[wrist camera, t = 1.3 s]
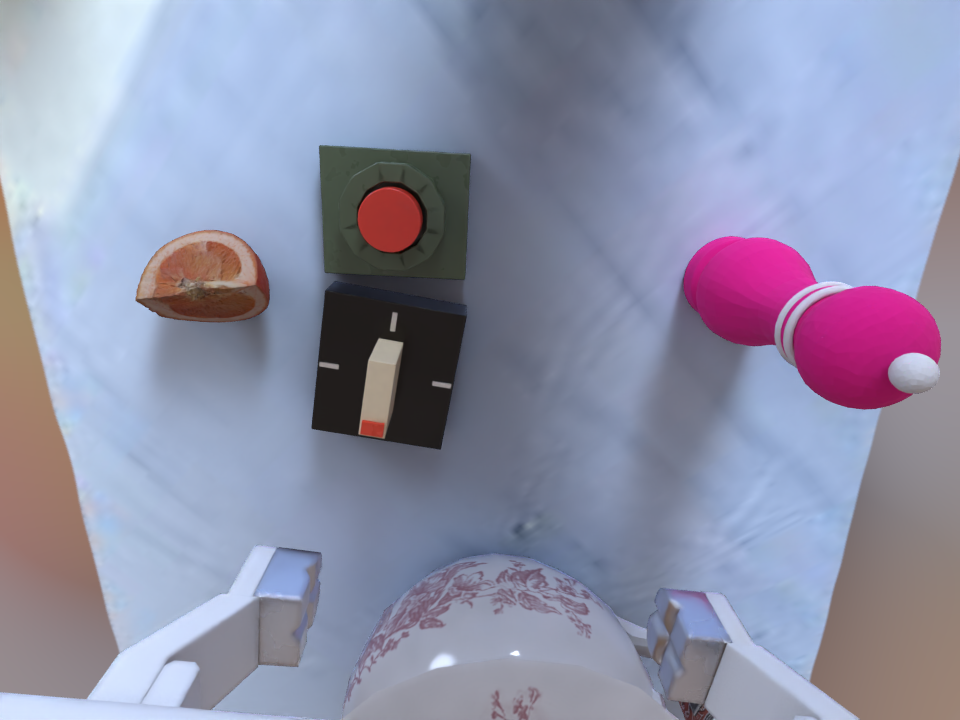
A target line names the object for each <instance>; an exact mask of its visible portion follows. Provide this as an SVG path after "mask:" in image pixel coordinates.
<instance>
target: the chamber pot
mask: <svg viewBox="0 0 960 720" xmlns="http://www.w3.org/2000/svg"><path fill="white" fill-rule="evenodd" d="M640 656H642V657H647V658H651V659H652V657H651V655H650V652H649V649H648V644H647V629H644V628H642V627H640V626H637V625H635V624H633V623H631V622H628V621H626V620H624V619H622V618H620V617H618V616H617V615H615V614H614V612H613V611H612V609H611V607H610V606H609V605H607V604H606V603H605V602H604V601H603V600H601V599H600V598H599V597H598V596H597V595H595V594H594V593H593V592H592V591H591V590H589V589H588V588H587V587H586V586H585V585H583V584H582V583H581V582H579V581H578V580H576V579H574V578H573V577H571V576H569V575H568V574H566V573H564V572H563V571H561V570H559V569H557V568H555V567H552V566H550V565H548V564H545V563H543V562H540V561H538V560H535V559H533V558H530V557H525V556H517V555H508V554H499V553H493V554H486V555H479V556H472V557H465V558H461V559H459V560H457V561H454V562H452V563H450V564H447V565H445V566H443V567H440V568H438V569H436V570H433V571H432V572H431V573H430V574H428V575H427V576H426V577H424V578H423V579H422V580H421V581H419V582H418V583H417V584H416V585H414V586H413V587H412V588H411V589H409V590H408V591H407V592H406V593H405V594H404V595H402V596H401V597H400V598H399V599H398V600H396V601H395V602H394V603H393V604H392V605H390V606H389V607H388V608H387V609H386V610H384V612H383V614H382V616H381V617H380V619H379V621H378V623H377V624H376V626H375V628H374V629H373V631H372V633H371V635H370V636H369V638H368V640H367V642H366V644H365V646H364V648H363V650H362V653H361V655H360V657H359V659H358V661H357V663H356V665H355V667H354V670H353V672H352V674H351V676H350V679H349V683H348V687H347V692H346V696H345V700H344V705H343V710H342V719H341V720H679V719H678V718H677V717H675V716H674V715H673V714H672V713H670V712H669V711H668V710H667V709H666V705H665V702H664V698H663V695H662V694H660V693H659V692H658V691H656V690H655V689H654V687H653V684H652V681H651V679H650V676H649V673H648V671H647V669H646V667H645V665H644V664H643V662H642V660H641V658H640ZM713 720H716V719H715V718H714V719H713Z"/></svg>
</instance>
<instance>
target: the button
mask: <svg viewBox="0 0 960 720" xmlns="http://www.w3.org/2000/svg"><path fill="white" fill-rule="evenodd" d="M422 223H423V215H422V210H421V207H420V205H419V203H418V202H417V200H416V199H415V197H414V196H413V195H412V194H410V193H409V192H408V191H406V190H404V189H402V188H398V187H383V188H380V189H378V190H376V191H374V192H372V193H370V194H369V195H368V196H367V197H366V198H365V199H364V200H363V202H362V203H361V205H360V208H359V211H358V226H359V229H360V232H361V234H362V236H363V237H364V239H365V240H366V241H367V242H368V243H369V244H370V245H371V246H372V247H374V248H376V249H377V250H380V251H383V252H399V251H402V250H404V249H406V248H408V247H409V246H410V245H411V244H412V243H413V242H414V241H415V240H416V238H417V236H418V235H419V233H420V231H421V228H422Z"/></svg>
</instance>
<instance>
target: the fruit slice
mask: <svg viewBox="0 0 960 720" xmlns="http://www.w3.org/2000/svg"><path fill="white" fill-rule="evenodd" d="M136 301H137V302H138V303H140V304H142V305H144V306H145V307H147V308H149V310H150V311H152V312H156V313H157V314H158V315H159V316H161V317H165V318H172V319H177V320H187V321H198V322H233V321H241V320H246V319H250V318H252V317H255V316H257V315H259V314H260V313H262V312H263V311H264V310H265V309H266V308H267V307H268V304H269V283H268V278H267V276H266V272H265V269H264V267H263V265H262V264H261V261H260V259H259V257H258V256H257V254H255V252H254V251H253V250H252V249H251V247H250V246H249V245H248V244H247V243H246V242H245V241H243V240H242V239H240V238H239V237H237V236H235V235H233V234H231V233H228V232H222V231H218V230H204V231H198V232H194V233H190V234H187V235H184V236H182V237H179V238H177V239H174V240H172V241H171V242H169V243H167V244H166V245H164V246H163V247H161V248H160V249H159V250H158V251H157V252H156V253H155V255H154V256H153V257H152V258H151V260H150V261H149V263H148V265H147V266H146V268H145V269H144V272H143V274H142V276H141V279H140V283H139V285H138V289H137V296H136Z"/></svg>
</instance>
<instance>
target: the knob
mask: <svg viewBox="0 0 960 720" xmlns="http://www.w3.org/2000/svg"><path fill="white" fill-rule="evenodd" d="M402 349H403V342H398V341H392V340H386V339H381V338H379V339H378V341H377V343H376V345H375V347H374V349H373V352H372V354H371V356H370V358H369V360H368V367H367V374H366V381H365V389H364V396H363V404H362V411H361V419H360V426H359V433H358V434H359V435H364V436H370V437H376V438H383V439H385V436H386V433H387V429H388V426H389V422H390V419H391V415H392V412H393V407H394V400H395V394H396V388H397V381H398V375H399V369H400V362H401V356H402Z"/></svg>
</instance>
